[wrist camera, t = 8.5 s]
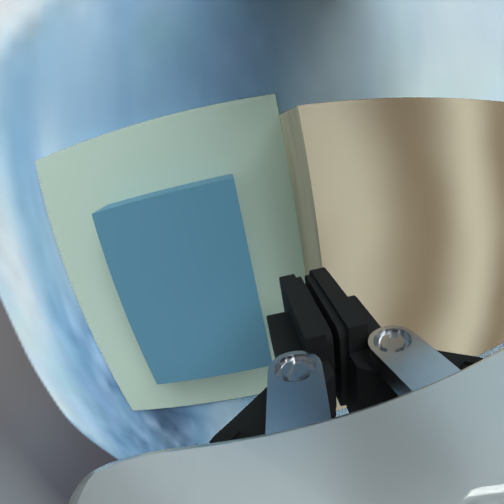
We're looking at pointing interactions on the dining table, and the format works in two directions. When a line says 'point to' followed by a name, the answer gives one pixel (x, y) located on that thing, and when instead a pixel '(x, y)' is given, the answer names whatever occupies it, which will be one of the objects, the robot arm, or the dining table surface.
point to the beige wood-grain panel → (406, 211)
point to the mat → (162, 177)
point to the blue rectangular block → (186, 279)
